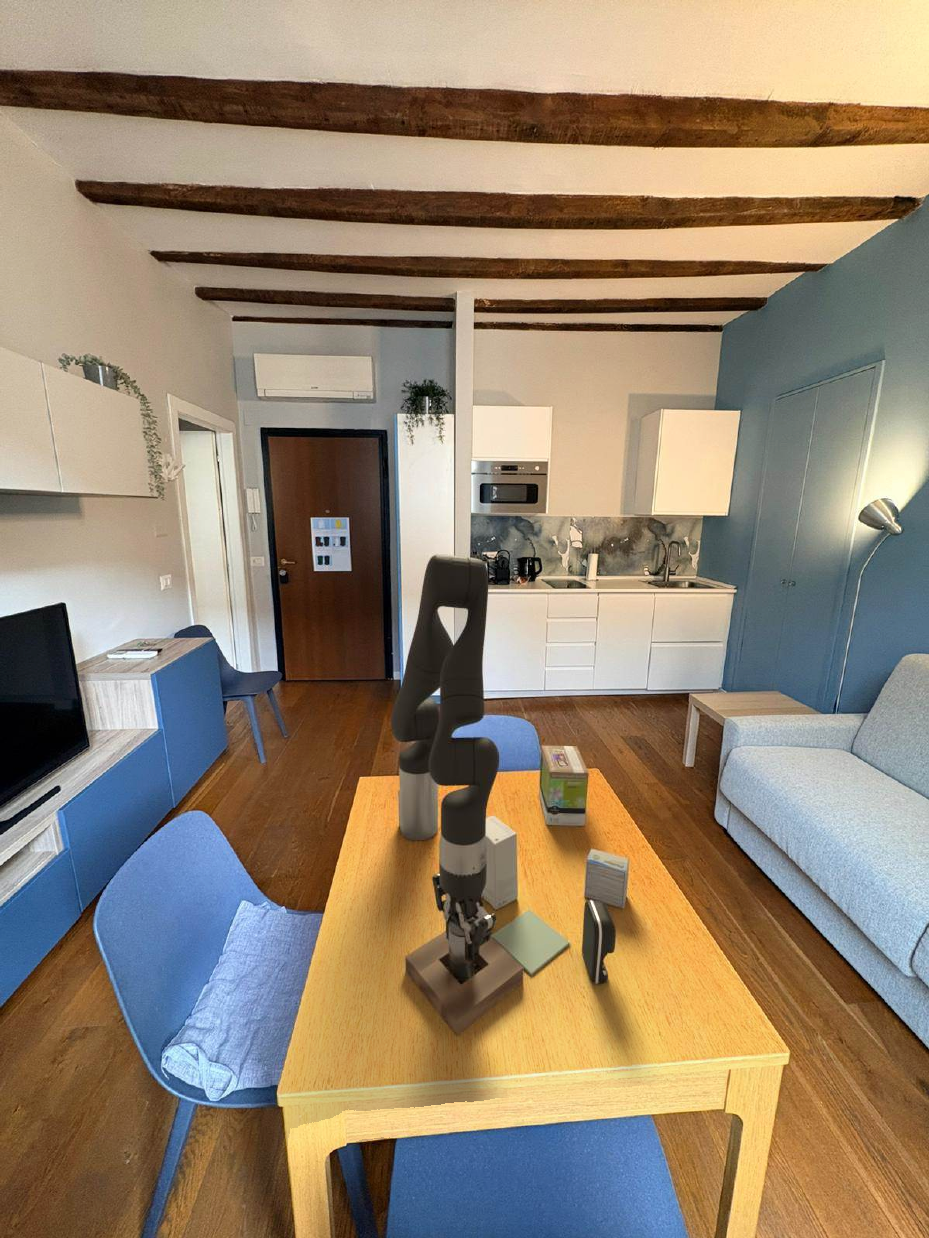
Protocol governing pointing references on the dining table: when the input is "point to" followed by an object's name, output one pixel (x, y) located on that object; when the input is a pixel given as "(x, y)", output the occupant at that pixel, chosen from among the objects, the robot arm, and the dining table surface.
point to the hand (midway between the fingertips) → (462, 946)
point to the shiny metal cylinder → (459, 951)
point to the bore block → (473, 995)
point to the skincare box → (500, 864)
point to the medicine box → (606, 878)
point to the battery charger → (597, 939)
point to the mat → (530, 941)
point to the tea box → (563, 785)
